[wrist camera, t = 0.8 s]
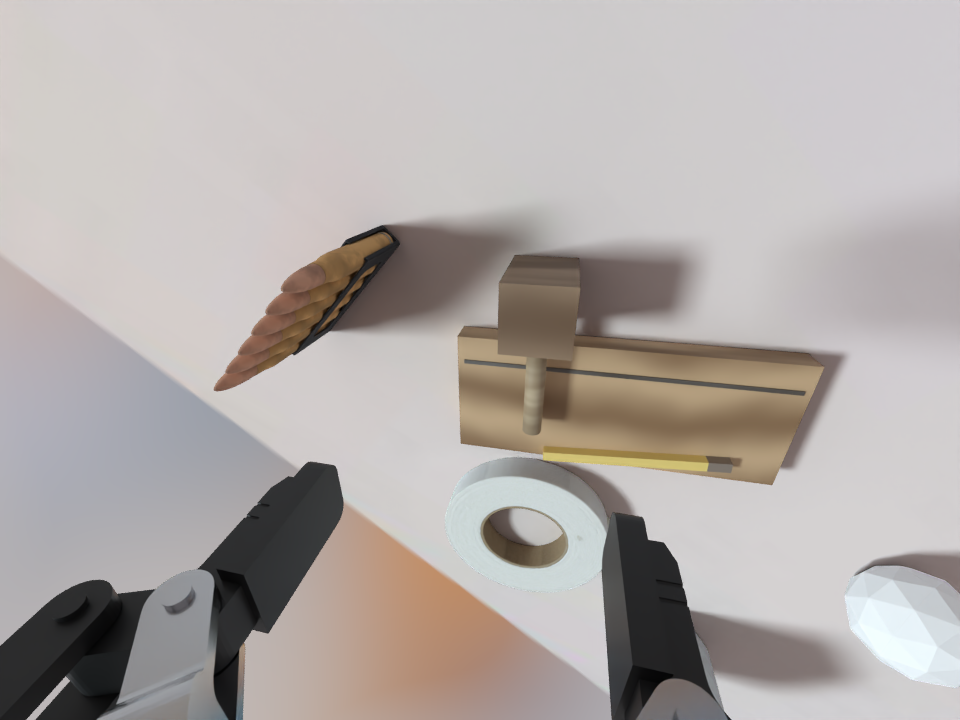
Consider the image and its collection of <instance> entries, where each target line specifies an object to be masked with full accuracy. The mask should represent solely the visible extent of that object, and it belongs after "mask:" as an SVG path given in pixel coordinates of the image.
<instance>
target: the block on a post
mask: <svg viewBox="0 0 960 720" xmlns="http://www.w3.org/2000/svg"><path fill="white" fill-rule="evenodd" d="M580 288H581V286H580V269H579V258H567V257H544V256H521V255H515V256H514V258H513V260H512V261H511V263H510V265H509V266H508V268H507V270H506V272H505V273H504V275H503V277H502V279H501V280H500V282H499V307H498V354H499V355H511V356H522V357H527V359H526V376H525V394H524V411H523V428H522V430H523V432H524V433H525V434H527V435H532V436H534V435H538V434H540V432H541V425H542V414H543V402H544V390H545V378H546V366H547V359H555V360H566V361H572V357H573V348H574V340H575V331H576V323H577V314H578V306H579V297H580Z"/></svg>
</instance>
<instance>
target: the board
mask: <svg viewBox="0 0 960 720" xmlns="http://www.w3.org/2000/svg"><path fill="white" fill-rule="evenodd" d="M526 359H527V357H522V356H511V355H499V354H498V329H491V328H478V327H465V326H464V327H463V329H462V330H461V332H460V333H459V335H458V367H459V401H460V436H461V444H468V445H476V446H483V447H491V448H498V449H506V450H513V451H521V452H528V453H536V454H543V448H544V446H551V447H567V448H584V449H600V450H617V451H633V452H650V453H666V454H683V455H699V456H716V457H729V458H730V459H731V461H732V463H733V467H732V471H731V473H721V472H707V471H692V470H678V469H663V468H648V467H640V468H648V469H655V470H663V471H670V472H678V473H685V474H693V475H700V476H708V477H715V478H723V479H730V480H738V481H745V482H753V483H760V484H768V485H772V484H773V482H774V480H775V478H776V475H777V473H778V471H779V469H780V466H781V464H782V462H783V460H784V457H785V455H786V453H787V451H788V448H789V446H790V444H791V442H792V439H793V437H794V435H795V433H796V430H797V428H798V426H799V424H800V421H801V419H802V417H803V415H804V412H805V410H806V408H807V406H808V403H809V401H810V399H811V397H812V394H813V392H814V390H815V388H816V385H817V383H818V381H819V379H820V376H821V374H822V372H823V370H824V366H823V365H821V364H820V363H819V362H818V361H817V360H816V359H814V358H813V357H812V356H811V355H810V354H808V353H796V352H783V351H770V350H758V349H745V348H732V347H719V346H707V345H694V344H681V343H669V342H656V341H643V340H630V339H618V338H605V337H592V336H580V335H575V340H574V348H573V357H572V361H566V360H555V359H547V366H546V378H545V390H544V402H543V414H542V425H541V432H540V434H538V435H534V436H532V435H527V434H525V433H524V432H523V430H522V428H523V411H524V394H525V376H526ZM633 467H634V466H633Z"/></svg>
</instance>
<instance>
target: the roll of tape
mask: <svg viewBox="0 0 960 720" xmlns="http://www.w3.org/2000/svg"><path fill="white" fill-rule="evenodd" d="M510 508H522V509H528V510H532V511H536V512H538V513H541V514H543V515H545V516H546V517H548V518H550V519H551V520H552V521H554V522H555V523H556V524H557V525H558V526H559V527H560V529H561V530H562V532H563V534H562V535H561V536H560V537H559V538H558V539H557V540H555V541H553V542H551V543H549V544H546V545H541V546H527V545H521V544H517V543H515V542H512V541H510V540H508V539H506V538H505V537H503V536H502V535H500V534H499V533H498V532H497V531H496V530H495V529H494V528H493V526H492V525H491V523H490V521H489V517H490V516H491V515H492V514H494V513H496V512H498V511H500V510H504V509H510ZM609 523H610V519H609V517H607V516H606V512H605V509H604V506H603V504H602V502H601V500H600V499H599V497H598V495H597V494H596V493H595V492H594V490H593V489H592V488H591V487H590V486H589V485H588V484H587V483H585V482H584V481H583V480H582V479H580V478H579V477H578V476H576V475H575V474H573V473H571V472H570V471H568V470H566V469H564V468H562V467H560V466H557V465H554V464H552V463H548V462H545V461H541V460H537V459H530V458H517V457H515V458H502V459H497V460H493V461H489V462H486V463H483V464H481V465H479V466H477V467H475V468H473V469H472V470H470V471H469V472H467V473H466V474H465V475H464V476H463V477H462V478H461V479H460V481H459V482H458V484H457V485H456V487H455V489H454V492H453V495H452V497H451V500H450V503H449V506H448V508H447V511H446V516H445V529H446V534H447V537H448V540H449V542H450V544H451V546H452V547H453V549H454V550H455V552H456V553H457V554H458V555H459V556H460V558H461V559H462V560H463V561H464V562H465V563H466V564H468V565H469V566H470V567H471V568H472V569H474V570H475V571H476V572H478V573H480V574H481V575H483V576H485V577H486V578H488V579H490V580H492V581H495V582H497V583H499V584H502V585H505V586H508V587H511V588H515V589H519V590H524V591H531V592H560V591H566V590H570V589H573V588H576V587H579V586H581V585H583V584H585V583H586V582H588V581H590V580H591V579H593V578H594V577H595V576H596V575H598V573H599V572H600V571H601V570H602V556H603V549H604V545H605V540H606V536H607V532H608V528H609Z"/></svg>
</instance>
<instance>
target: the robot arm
mask: <svg viewBox="0 0 960 720" xmlns="http://www.w3.org/2000/svg"><path fill="white" fill-rule="evenodd" d="M342 511H343V497H342V492H341V487H340V482H339V477H338V472H337V469H336V467H335V466H334V465H329V464H323V463H317V462H308V463H306V464H305V465H304V466H303V467H302V468H301V469H300V471H299V472H298V473H297V474H296V475H295V477H289V476H288V477H287V478H285V479H284V480H282V481H281V482H279V483H278V484H276V485H275V486H273V487H272V488H270V490H269V491H268V492H267V493H266V494H265V495H264V496H263V497H262V498H261V500H260V501H259V502H258V505H257V506H254V508H253V509H252V510H251V511H250V512H249V513H248V514H247V517H246V518H244V519H243V520H242V521H241V522H240V523H239V524H238V525H237V527H236V528H235V529H234V530H233V531H232V532H231V533H230V534H229V535H228V536H227V538H226V539H225V540H224V541H223V542H222V543H221V544H220V545H219V547H218V548H217V549H216V550H215V551H214V552H213V553H212V554H211V556H210V557H209V558H208V559H207V560H206V561H205V562H204V563H203V564H202V565H201V566H200V567H199V568H198V569H197V570H189V571H185V572H183V573H180V574H178V575H176V576H173V577H172V578H170V579H168V580H167V581H165V582H164V583H163V584H161V585H160V586H159V587H158V588H157V589H155V590H147V591H137V592H129V593H121V594H117V593H116V592H115V590H114V589H113V587H112V586H111V584H110V583H109V582H107V581H104V580H92V581H87V582H83V583H80V584H78V585H75V586H73V587H71V588H69V589H68V590H65V591H64V592H62V593H61V594H59V595H57V596H56V597H55V598H53V599H52V600H51V601H50V602H48V603H47V604H46V605H45V606H44V607H43V608H41V609H40V610H39V611H38V612H37V613H36V614H35V615H34V616H33V617H32V618H31V619H29V620H28V621H27V622H26V623H25V624H24V625H23V626H22V627H21V628H19V629H18V630H17V631H16V632H15V633H14V634H13V635H12V636H11V637H10V638H9V639H7V640H6V641H5V642H4V643H3V644H2V645H1V646H0V720H26V719H27V718H28V717H29V716H30V715H31V714H32V712H33V711H34V710H35V709H36V708H37V707H38V706H39V705H40V704H41V703H42V701H43V700H44V699H45V698H46V697H47V696H48V695H49V694H50V693H51V692H52V690H53V689H54V688H55V687H56V686H57V685H58V684H59V683H60V682H61V681H62V680H63V678H64V677H65V676H66V677H67V678H68V679H69V680H70V682H69V683H68V684H67V685H66V686H65V687H64V689H63V690H62V691H61V692H60V693H59V694H58V695H57V696H56V697H55V699H54V700H53V701H52V702H51V703H50V704H49V705H48V706H47V707H46V709H45V710H44V711H43V712H42V713H41V714H40V715H39V716H38V718H37V719H36V720H243V698H244V669H245V644H244V642H245V640H246V638H247V637H248V636H249V634H250V633H251V631H252V630H256V631H260V632H264V633H269V632H270V630H271V628H272V627H273V625H274V624H275V622H276V620H277V619H278V617H279V616H280V614H281V613H282V611H283V610H284V608H285V606H286V605H287V603H288V602H289V600H290V598H291V597H292V595H293V594H294V592H295V591H296V589H297V587H298V586H299V584H300V583H301V581H302V579H303V578H304V576H305V575H306V573H307V571H308V570H309V568H310V567H311V565H312V563H313V562H314V560H315V558H316V557H317V556H318V554H319V552H320V551H321V549H322V548H323V546H324V544H325V543H326V541H327V540H328V538H329V537H330V535H331V533H332V532H333V530H334V529H335V527H336V525H337V524H338V522H339V520H340V518H341V515H342ZM602 582H603V597H604V612H605V627H606V641H607V656H608V671H609V686H610V699H611V715H612V720H731V719H730V718H729V717H728V715H727V714H726V713H725V712H724V711H723V709H722V708H721V707H720V705H719V704H718V702H717V701H716V699H715V697H714V695H713V694H712V691H711V689H710V687H709V684H708V681H707V678H706V674H705V671H704V667H703V663H702V659H701V655H700V651H699V647H698V643H697V639H696V635H695V631H694V627H693V623H692V619H691V615H690V611H689V607H687V599H686V595H685V591H684V589H683V583H682V579H681V575H680V571H679V567H678V563H677V561H676V560H675V558H674V557H673V556H672V554H671V553H670V551H669V550H668V548H667V547H666V545H665V544H664V543H663V542H657V541H651V540H648V537H647V532H646V527H645V522H644V519H643V518H642V517H639V516H633V515H627V514H621V513H614V512H613V513H612V515H611V519H610V523H609V528H608V532H607V536H606V540H605V545H604V549H603V556H602Z"/></svg>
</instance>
